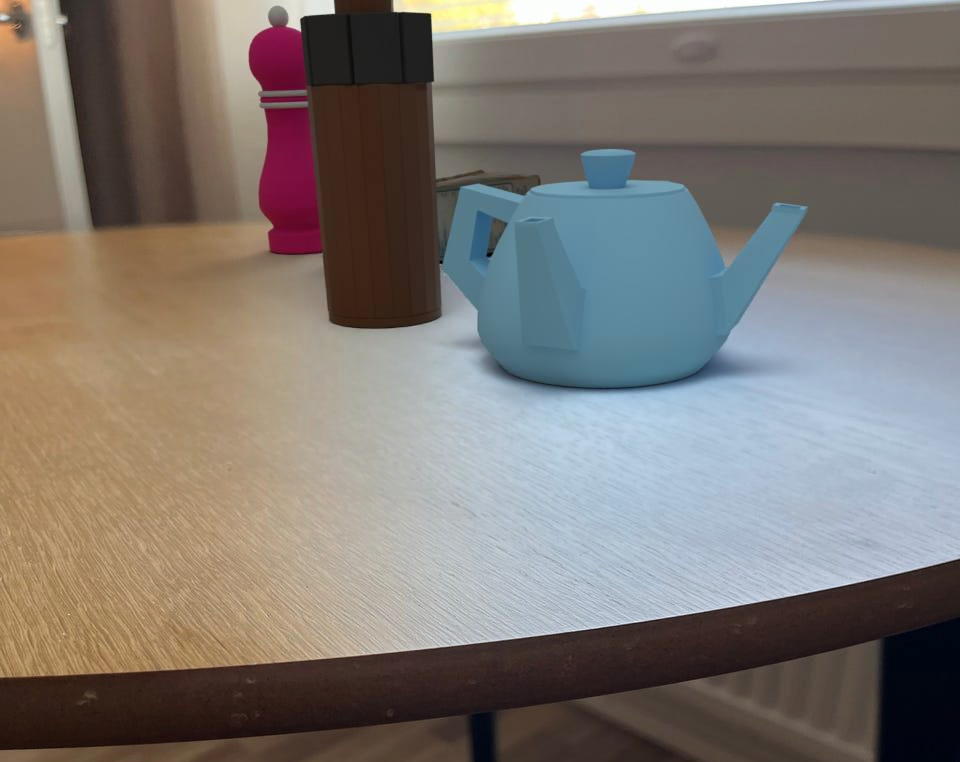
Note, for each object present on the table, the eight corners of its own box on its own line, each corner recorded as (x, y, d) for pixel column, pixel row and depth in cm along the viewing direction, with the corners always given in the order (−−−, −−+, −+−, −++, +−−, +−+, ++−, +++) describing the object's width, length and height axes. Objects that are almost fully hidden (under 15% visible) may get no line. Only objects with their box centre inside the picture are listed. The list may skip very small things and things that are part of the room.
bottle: (305, 321, 69) (270, -11, 60) (374, 301, 75) (351, -5, 66) (398, 332, 66) (376, -20, 56) (462, 310, 71) (451, -13, 62)
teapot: (666, 322, 66) (676, 136, 61) (798, 377, 54) (825, 149, 48) (438, 345, 62) (429, 149, 57) (523, 410, 50) (521, 166, 44)
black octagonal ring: (282, 86, 62) (275, 17, 61) (358, 83, 68) (353, 20, 66) (383, 83, 59) (378, 10, 57) (454, 80, 64) (452, 14, 63)
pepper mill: (305, 257, 94) (279, 1, 85) (248, 252, 98) (217, 6, 88) (355, 246, 99) (336, 4, 90) (299, 241, 103) (275, 9, 93)
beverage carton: (321, 263, 91) (313, 181, 88) (496, 240, 100) (495, 166, 97) (365, 274, 85) (358, 187, 82) (547, 249, 94) (547, 171, 91)
